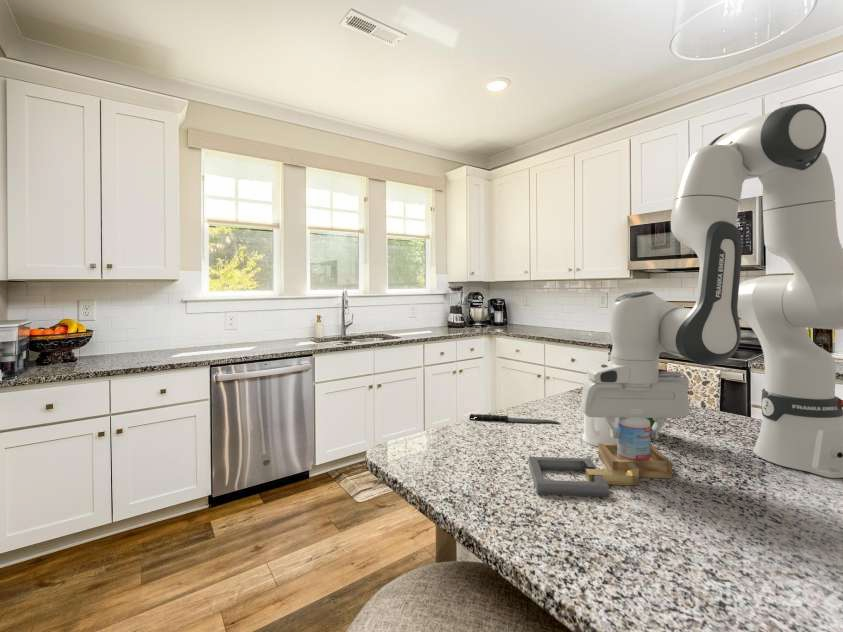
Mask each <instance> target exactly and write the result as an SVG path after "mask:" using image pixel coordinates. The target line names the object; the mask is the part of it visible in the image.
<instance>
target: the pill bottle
mask: <svg viewBox="0 0 843 632" xmlns="http://www.w3.org/2000/svg"><path fill="white" fill-rule="evenodd" d="M630 414H631V416H632V417H631V418H620V417H619V418H618V429H619V430H620V438H617V456H618V458H619V459H620V460H650V444H651V439H650V428H651V426H650V421H649V419H648V418H643V417H642V416H644V414H645V409H639V408H631V409H630Z"/></svg>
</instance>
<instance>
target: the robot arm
mask: <svg viewBox="0 0 843 632" xmlns="http://www.w3.org/2000/svg"><path fill="white" fill-rule="evenodd" d="M825 119H826V118H825V117H824V116H823V114H822V112H820V110H818V108H816V107H814V106H813V105H811V104H809V103H795V104H790V105H787V106H783V107H779V108H777V109H775V110H773V111H772V112H768V113H765V114H762V115H760V116H757V117H754V118H753V119H750V120H748V121H745V122H743V124H741V125H739V126H737V127H735V128H733V129H731V130H730V131H728V132H725V133H722V134H721V135H719V136H717V137H716V138H714V139H713V140H712V141H710V143H708V144H707V145H706V146H703V147H701V148H699V149H696V150H695V151H694V152H693V153H692V154H690V156H689V158H688V159H687V161H686V163H685V166H684V168H683V169H682V170H683V171H682V173H681V175H680V178H679V181H678V184H677V188H676V191H675V195H674V199H673V203H672V204H673V205H672V207H671V208H672V209H671V214H670V232H671V234H672V235H673V236H674V238H675V239H676V240H677V241H678V242H679V243H681V244H682V245H684V246H685V247H687V248H689V249H691V250H692V251H694V252H695V254H696V256H697V258H698V263H699V272H698V279H697V289H696V297H695V298H696V299H695V303H694V306H693V307H692V308H689V307H681V306H679V305H676V304H673V303H671V302H669V301H666V300H665V299H663V298H661V297H659V296H658V295H657V294H656V293H655V292H653V291H649V290H647V291H646V290H644V291H636V292H635V291H634V292H629V293H625V294H623V295H621V296H618V297H617V298H616V299H615V300H614V302H613V305H612V309H611V316H610V339H611V343H612V346H611V347H612V348H611V351H610V360H608V361H605V362H602V363H599V364H596V365H592V366H589V367H588V368H586V375H587V377H588V379H586V381H585V382H583V383H584V384H583V385H582V392H581V398H580V399H581V404H580V407H581V411H582V412H583V414H584V413H585V414H586V415H587V416H588V417H605V421H606V422H607V424H608V426H609V427H610V436H611V437H612V438H620V430H619V429H618V428H615V427H614V426H613V424H612V422H615V417H620V418H631V417H632V416H631V414H630V409H631V408H639V409H645V414H644V416H642V417H643V418H653V420H654V421H655V423H654V424H653V426H652V428H650V440H658V439H659V431H660V430H661V429H662V428H663V426H664V425H665V420H666V419H686V418H687V417H688V416H689V415H690V413H691V411H690V410H691V409H690V398H689V394H688V390H689V388H690V387H689V385H690V384H689V378H688V377H687V375H686V374H684V373H682V372H681V371H666V370H665V371H660V370H659V369H660V367H659V365H660V364H659V363H660V361H659V359H660V354H661V353H668V354H671V355H673V356H677V357H681V358H684V359H686V360H688V361H691V362H693V363H695V364H698V365H701V366H716V365H720V364H722V363H724V362H726V361H727V360H728V359H730V358H731V357H732V356H733V355H734V354H735V353H736V351H737V349H738V348H739V346H740V342H741V336H742V332H741V331H742V330H741V326H740V319H742V321H744V322H745V323H747V325H748V326H749V327H750V328H751V329H752V331H753V332H754V333H755V336H756V337H757V340H758V342H759V344H760V346H761V351H762V354H763V358H764V359H763V360H764V361H763V363H764V388H763V389H762V390H761V403H760V404H761V414H762V416H761V424H760V430H759V434H758V436H757V437H758V438H757V440H756V443H755V445H754V448H753V449H752V451H753V453H754V454H755V455H756V456H757V457H758V458H761V459H763V460H764V461H768V462H769V463H772V464H775V465H779V466H781V467H782V466H783V467H785V468H791V469H794V470H799V471H804V472H806V473H807V472H808V473H812V474H814V475H818V476H822V477H826V478H830V479H840V478H843V399H842V398H840V397H838V396H836V377H837V375H836V374H837V363H836V360H835V358H834V356H833V355H832V354H831V353H830V352H829V351H827V350H826V349H824V348H822V347H820V346H818V344H816V343H815V342H814V341H813V340H812V339H811V337H810V336H809V334H808V331H807V328H810V329H823V330H834V331H835V330H836V331H837V330H843V246H842V244H841V241H840V238H839V237H840V236H839V232H838V223H837V208H836V207H837V205H836V190H835V182H834V175H833V173H832V168H831V165H830V162H829V158H828V157H827V154H825V153H824V152H823V150H824V145H825V142H826V138H827V124H826V123H827V122H826V120H825ZM756 178H758V180H759V181H760V182H761V185H762V186H763V191H762V220H763V222H762V223H763V240H764V241H763V242H764V246H765V248H766V250H767V251H768V252H769V253H771V254H772V255H775V256H777V257H780V258H782V259H784V260H785V261H786V262H787V263H788V264H789V266H790V267H791V269H792V271H793V272H792V273H793V274H779V275H775V274H774V275H773V274H772V275H764V276H759V277H755V278H750V279H747V280H744V281H742V282H740V281H741V269H742V257H743V239H742V235H741V232H740V231H741V230H739V228H738V215H739V214H738V213H739V208H740V203H741V198H742V197H741V196H742V191H743V184H744V182H745V181H746V180H751V179H756ZM739 318H740V319H739Z"/></svg>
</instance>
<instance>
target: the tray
mask: <svg viewBox="0 0 843 632" xmlns="http://www.w3.org/2000/svg"><path fill="white" fill-rule="evenodd" d="M597 449H598V450H597V451H598V452H597V455H598V456H597V457H598V459H599V460H600V461H601V462H602V464H603V465H604V467H605V469H609V470H627V463H634V464H635V465H636V466H637V467H638V469H639V478H651V479H652V478H653V479H654V478H657V479H673V462H672V461H671V460H669V459H668V458H667V457H666V455H664V454H663V453H662V452H661V451H659V450H658V449H657V448H656V447H655V446H654V445H652V444H651V443H650V460H620V459H619V458H618V456H617V444H613V443H598V446H597Z"/></svg>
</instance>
